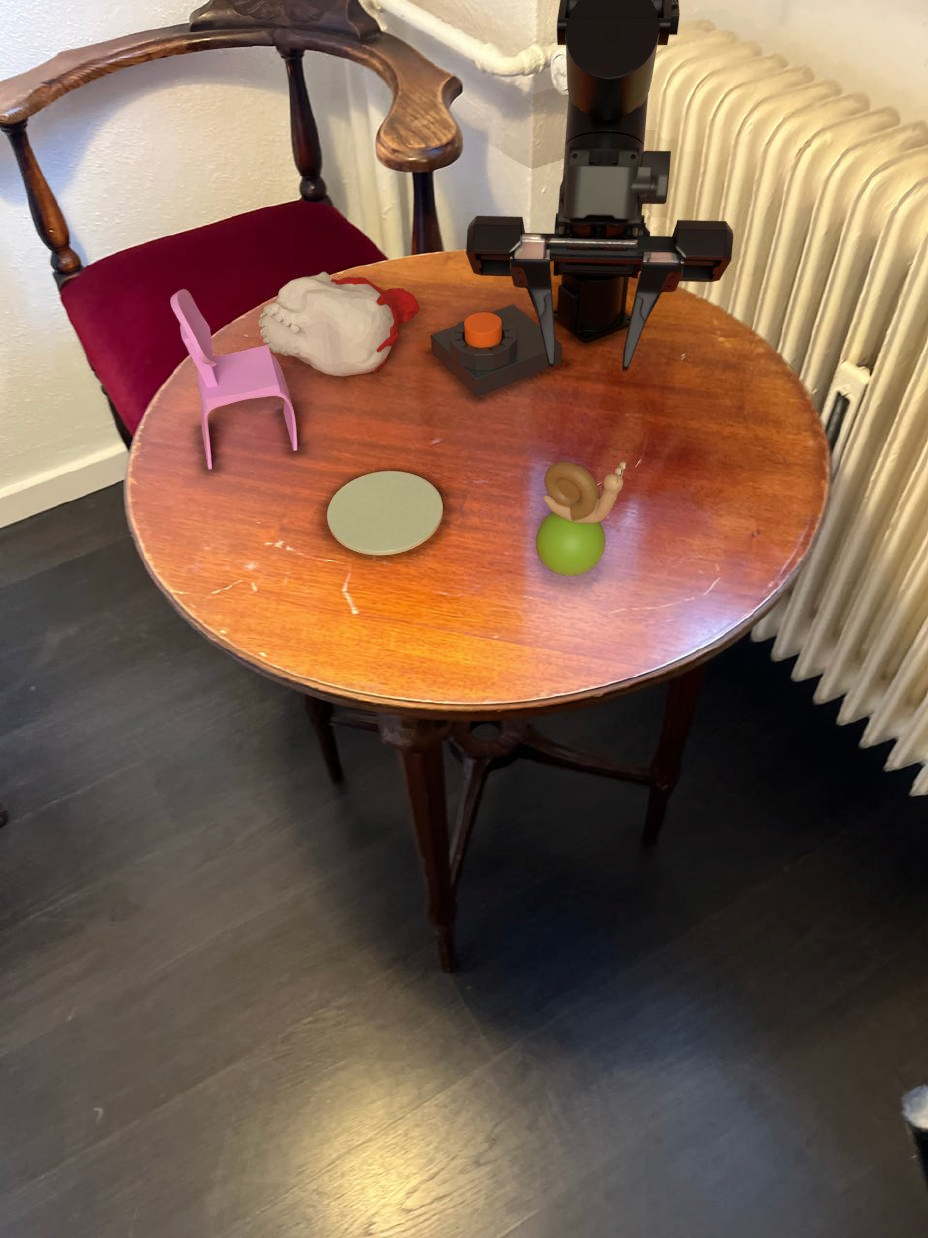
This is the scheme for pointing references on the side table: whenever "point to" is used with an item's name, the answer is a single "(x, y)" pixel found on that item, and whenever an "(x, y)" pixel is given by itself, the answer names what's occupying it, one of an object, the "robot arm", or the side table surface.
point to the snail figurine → (575, 518)
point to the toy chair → (229, 370)
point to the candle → (336, 323)
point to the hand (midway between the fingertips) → (588, 368)
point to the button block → (495, 353)
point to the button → (483, 330)
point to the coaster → (385, 513)
